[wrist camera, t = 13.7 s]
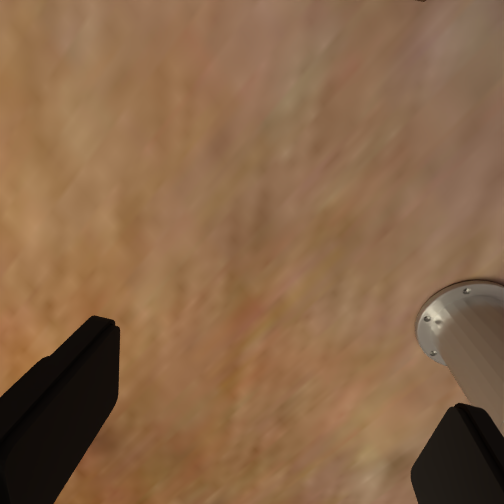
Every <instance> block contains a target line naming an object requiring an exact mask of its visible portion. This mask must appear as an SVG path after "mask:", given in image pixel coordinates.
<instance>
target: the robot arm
mask: <svg viewBox="0 0 504 504" xmlns="http://www.w3.org/2000/svg"><path fill="white" fill-rule="evenodd" d="M415 334H416V339H417V341H418V343H419V345H420V347H421V348H422V350H423V351H424V353H425V354H426V355H427V356H428V357H429V358H431V359H432V360H434V361H435V362H437V363H440V364H442V365H445V366H447V367H448V368H449V370H450V372H451V373H452V375H453V376H454V378H455V380H456V381H457V383H458V384H459V386H460V388H461V389H462V391H463V393H464V394H465V396H466V397H467V399H468V401H469V402H470V404H471V405H467V404H463V403H458V404H456V405H455V406H454V407H450V408H449V409H448V410H447V412H446V413H445V415H444V416H443V418H442V420H441V421H440V423H439V425H438V426H437V428H436V429H435V431H434V433H433V434H432V436H431V438H430V439H429V441H428V442H427V444H426V446H425V447H424V449H423V450H422V452H421V454H420V455H419V457H418V459H417V460H416V462H415V463H414V465H413V467H412V469H411V482H412V485H413V488H414V491H415V495H416V498H417V501H418V504H504V286H502V285H500V284H498V283H494V282H489V281H478V280H475V281H466V282H461V283H457V284H454V285H452V286H449V287H447V288H444V289H443V290H441V291H439V292H438V293H436V294H435V295H434V296H432V297H431V298H430V299H429V300H428V301H427V302H426V303H425V304H424V305H423V307H422V308H421V310H420V312H419V314H418V315H417V319H416V322H415ZM119 351H120V328H119V327H118V326H115V321H114V320H111V319H107V318H103V317H99V316H95V315H94V316H91V317H90V318H89V319H88V320H87V321H86V322H85V323H84V324H83V325H82V326H80V327H79V328H78V329H77V330H76V331H75V332H74V333H73V334H72V335H71V336H70V337H69V338H68V339H67V340H66V341H65V342H64V343H63V344H62V345H61V346H60V347H59V348H58V349H57V350H56V351H55V352H54V353H53V354H52V355H50V356H47V357H44V358H42V359H41V360H40V361H38V362H37V363H36V364H35V365H34V366H33V367H32V368H31V369H30V370H29V371H28V372H27V373H25V374H24V375H23V376H22V377H21V378H20V379H19V380H18V381H17V382H16V383H15V384H14V385H13V386H12V387H11V388H10V389H9V390H7V391H6V392H5V393H4V394H3V395H2V396H1V397H0V504H53V503H54V502H55V500H56V499H57V497H58V496H59V494H60V492H61V491H62V489H63V488H64V486H65V484H66V483H67V481H68V480H69V478H70V476H71V475H72V473H73V472H74V470H75V468H76V467H77V465H78V464H79V462H80V460H81V459H82V457H83V456H84V454H85V453H86V451H87V449H88V448H89V446H90V445H91V443H92V441H93V440H94V438H95V437H96V435H97V433H98V432H99V430H100V429H101V427H102V425H103V424H104V422H105V421H106V419H107V418H108V416H109V414H110V413H111V411H112V410H113V408H114V406H115V404H116V401H117V398H118V387H119Z"/></svg>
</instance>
